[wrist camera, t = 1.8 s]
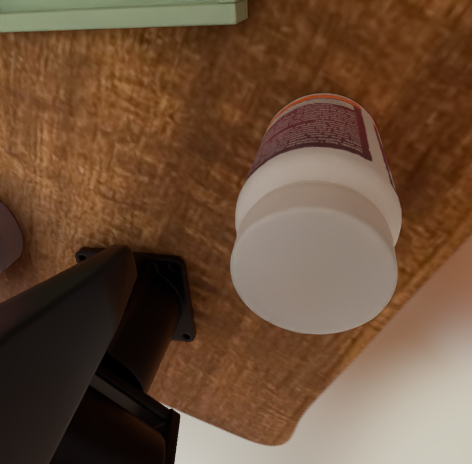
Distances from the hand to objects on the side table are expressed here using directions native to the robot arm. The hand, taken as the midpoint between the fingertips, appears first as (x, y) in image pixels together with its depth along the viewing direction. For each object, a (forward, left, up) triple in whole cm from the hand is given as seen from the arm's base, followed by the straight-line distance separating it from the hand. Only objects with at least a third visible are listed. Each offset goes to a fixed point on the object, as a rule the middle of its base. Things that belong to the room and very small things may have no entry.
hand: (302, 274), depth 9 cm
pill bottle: (0, 0, -9) cm, 9 cm away
